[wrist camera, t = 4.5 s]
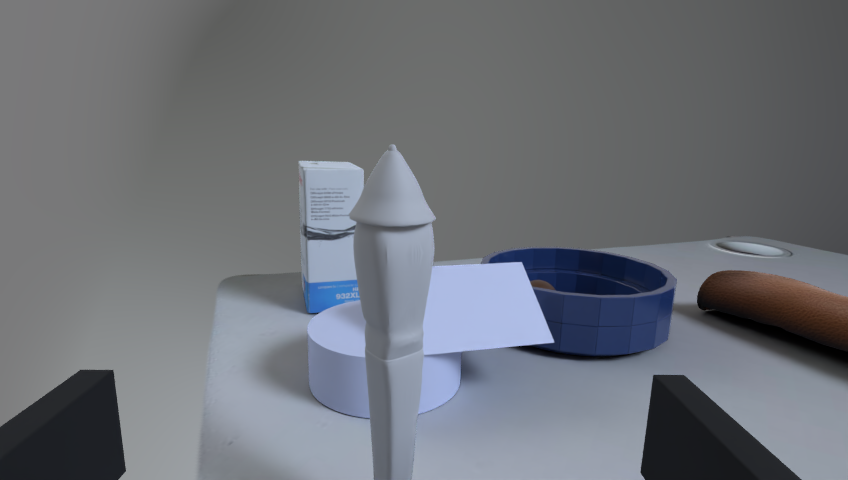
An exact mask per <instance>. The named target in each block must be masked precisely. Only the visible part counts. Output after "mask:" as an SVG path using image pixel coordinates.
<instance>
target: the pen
mask: <svg viewBox="0 0 848 480" xmlns="http://www.w3.org/2000/svg"><path fill="white" fill-rule="evenodd" d="M349 217H350V219H351V220H353V221H356V222H357V223H356V227H355V232H354V240H353V250H354V262H355V269H356V276H357V283H358V290H359V296H360V302H361V308H362V313H363V316H364V319H365V320H366V326H365V344H366V346H365V361H366V373H367V386H368V398H369V411H370V424H371V437H372V452H373V470H374V480H412V471H413V462H414V451H415V440H416V428H417V419H418V411H419V403H420V395H421V384H422V367H423V358H424V352H423V335H424V332H423V320H424V315H425V308H426V302H427V297H428V291H429V286H430V279H431V273H432V266H433V258H434V250H435V249H434V238H433V229H432V224H431V222H432V221H434V220H435V216H434V214H433V213H432V211H431V210H430V208H429V207H428V205H427V203H426V201H425V199H424V197H423V194H422V191H421V188H420V186H419V185H418V182H417V180H416V178H415V177H414V175H413V173H412V171H411V170H410V168H409V166H408V165H407V163H406V161H405V160H404V158H403V157H402V155H401V153H400V152H399V151H397V149H396V146H395V145H390V146H389V148H388V151H386V152H385V153H384V154H383V156H382V157H381V159H380V160H379V162H378V163H377V165H376V166H375V168H374V170H373V171H372V173H371V175H370V177H369V179H368V180H367V182H366V184H365V186H364V188H363V191H362V193H361V196H360V198H359V200H358V202H357V203H356V205H355V206H354V208H353V209H352V210H351V212H350V213H349Z"/></svg>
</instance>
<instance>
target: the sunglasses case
mask: <svg viewBox="0 0 848 480" xmlns="http://www.w3.org/2000/svg"><path fill="white" fill-rule="evenodd" d="M697 303H698V306H699V308H700V309H702V310H712V309H715V310H717V311H720V312H724V313H728V314H732V315H735V316H738V317H740V318H745V319H746V318H750V319H752V320H754V321H756V322H759V323H763V324H768V325H773V326H778V327H781V328H783V329H784V330H786V331H788V332H791V333H794V334H797V335H799V336H802V337H805V338H807V339H810V340H812V341H815V342H818V343H820V344H823V345H826V346H830V347H833V348H837V349H840V350H843V351H847V352H848V297H846V296H842V295H838V294H835V293H832V292H829V291H826V290H824V289H820V288H819V287H815V286H812V285H810V284H807V283H804V282H801V281H797V280H794V279H791V278H786V277H782V276H778V275H772V274H766V273H759V272H751V271H735V270H734V271H733V270H727V271H720V272H716V273H714V274H712V275H711V276H709V277H708V278H707V279H706V280H705V281H704V283H703V284H702V285H701V287H700V290H699V292H698V296H697Z"/></svg>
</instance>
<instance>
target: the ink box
mask: <svg viewBox="0 0 848 480" xmlns="http://www.w3.org/2000/svg"><path fill="white" fill-rule="evenodd" d="M363 188H364V170H363V169H361V168H359V167H358V166H356V165H354V164H352V163H350V162H324V161H299V194H300V195H299V196H300V197H299V198H300V237H301V265H302V266H301V267H302V287H303V292H304V298H305V303H306V308H307V312H308V313H319V312H322V311H324V310H326V309H328V308H331V307H333V306H336V305H340V304H344V303H348V302H353V301H359V300H360V296H359V290H358V283H357V276H356V269H355V262H354V250H353V240H354V232H355V227H356V223H357V222H356V221H353V220H351V219H350V217H349V213H350V212H351V210H352V209H353V208H354V206H355V205H356V203H357V202H358V200H359V198H360V196H361V193H362V191H363Z"/></svg>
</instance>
